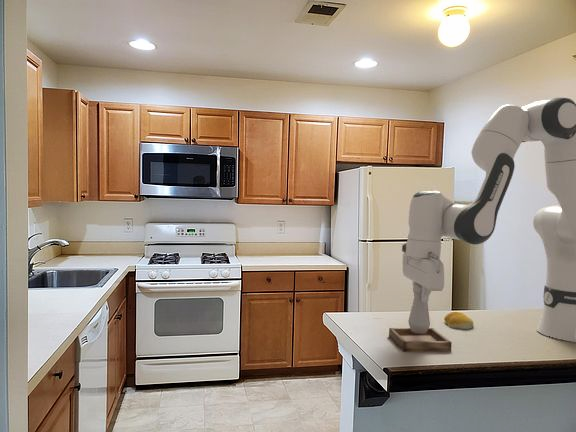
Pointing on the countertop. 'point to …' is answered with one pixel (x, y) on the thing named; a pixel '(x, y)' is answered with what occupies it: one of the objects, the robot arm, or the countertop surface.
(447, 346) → the tray
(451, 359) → the countertop surface
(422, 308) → the salt shaker
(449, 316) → the bread roll
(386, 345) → the countertop surface
